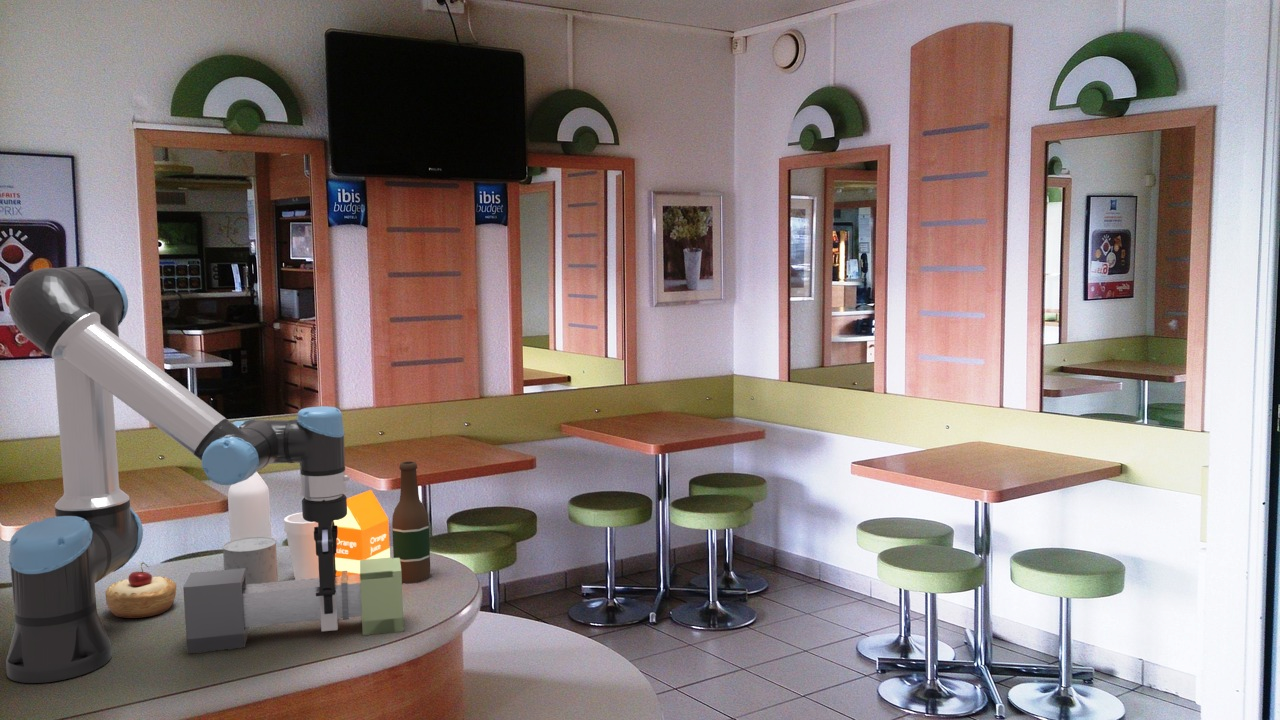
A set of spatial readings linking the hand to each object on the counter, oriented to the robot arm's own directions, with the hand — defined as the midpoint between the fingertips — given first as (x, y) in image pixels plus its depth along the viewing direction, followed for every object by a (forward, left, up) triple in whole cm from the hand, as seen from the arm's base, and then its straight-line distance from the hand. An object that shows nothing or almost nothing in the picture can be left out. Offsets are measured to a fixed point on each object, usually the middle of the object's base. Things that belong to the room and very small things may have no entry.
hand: (330, 623), depth 185 cm
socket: (+9, 0, -1) cm, 9 cm away
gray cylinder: (-14, +17, -1) cm, 22 cm away
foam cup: (-4, +31, -1) cm, 31 cm away
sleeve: (-18, 0, -1) cm, 19 cm away
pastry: (-34, +21, -2) cm, 40 cm away
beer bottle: (+16, +26, -1) cm, 30 cm away
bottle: (-16, +39, -1) cm, 42 cm away
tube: (-2, 0, +2) cm, 3 cm away
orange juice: (+6, +18, -1) cm, 19 cm away
